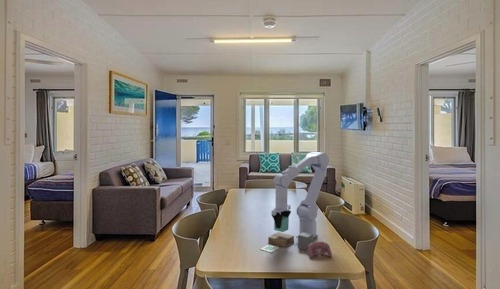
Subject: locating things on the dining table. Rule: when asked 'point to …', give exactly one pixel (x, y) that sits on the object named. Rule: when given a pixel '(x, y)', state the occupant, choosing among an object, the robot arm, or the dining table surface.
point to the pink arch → (319, 245)
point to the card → (269, 248)
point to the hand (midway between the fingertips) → (281, 226)
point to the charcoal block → (304, 240)
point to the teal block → (283, 224)
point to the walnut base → (281, 239)
